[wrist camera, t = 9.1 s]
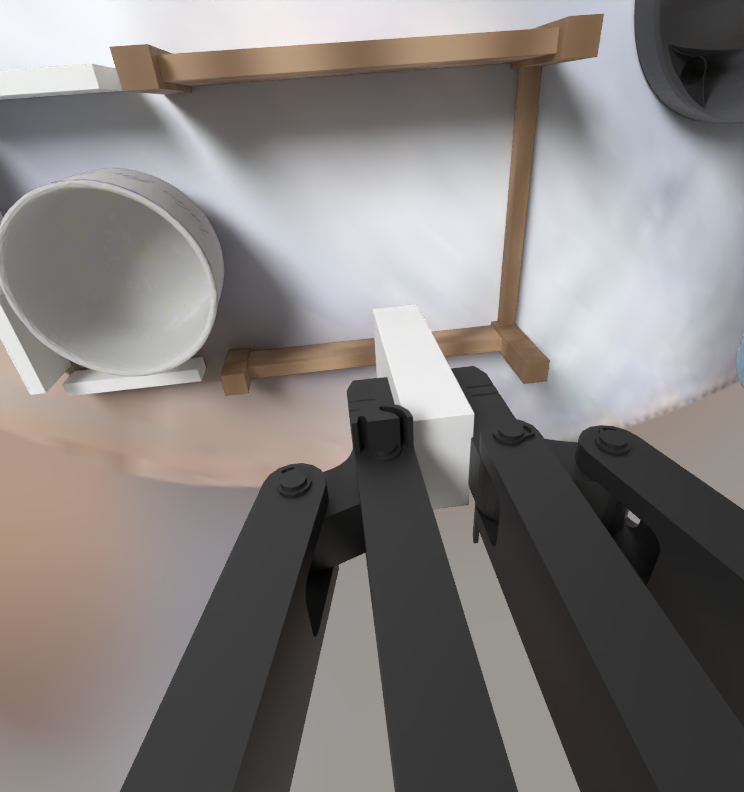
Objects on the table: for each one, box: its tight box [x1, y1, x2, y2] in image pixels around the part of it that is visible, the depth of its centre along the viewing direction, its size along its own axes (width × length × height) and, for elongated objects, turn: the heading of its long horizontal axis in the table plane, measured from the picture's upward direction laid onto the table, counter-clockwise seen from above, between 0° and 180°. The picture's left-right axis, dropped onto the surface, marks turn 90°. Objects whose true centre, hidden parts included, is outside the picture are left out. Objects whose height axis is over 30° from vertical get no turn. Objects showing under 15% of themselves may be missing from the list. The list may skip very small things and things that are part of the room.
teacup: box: [0, 168, 224, 376], centre depth 28 cm, size 14×11×8 cm
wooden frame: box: [110, 14, 604, 396], centre depth 29 cm, size 22×20×7 cm
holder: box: [0, 64, 206, 396], centre depth 29 cm, size 10×19×4 cm, turn 4°
